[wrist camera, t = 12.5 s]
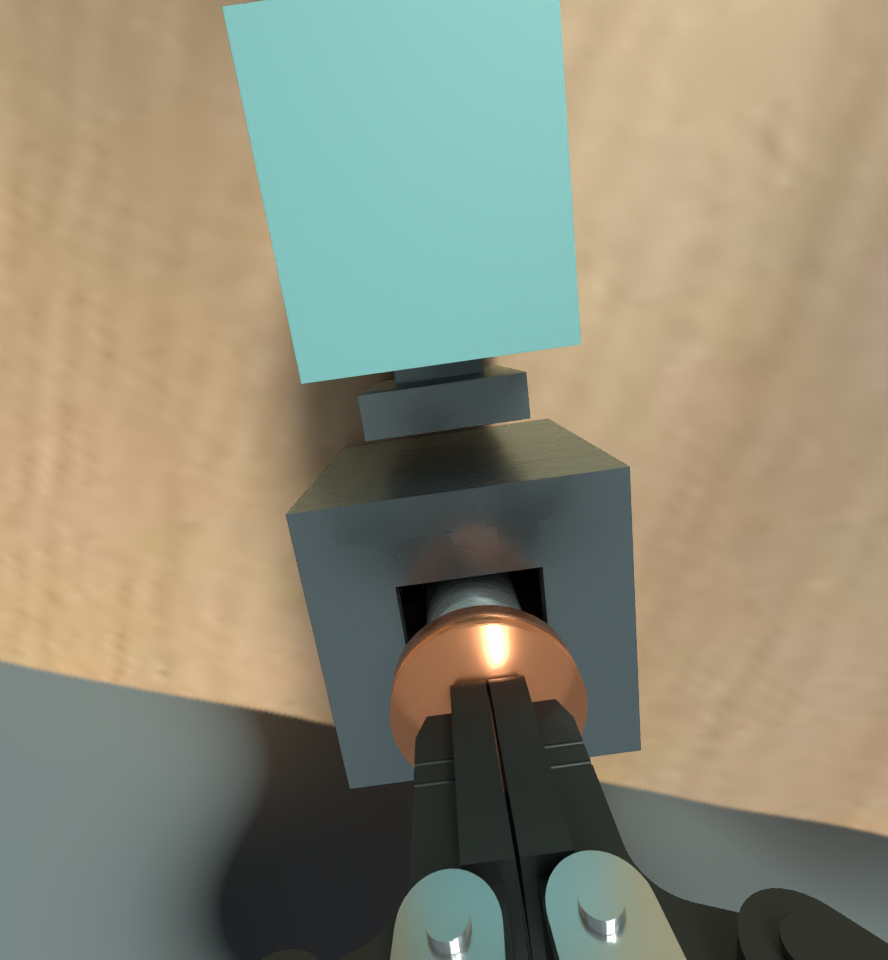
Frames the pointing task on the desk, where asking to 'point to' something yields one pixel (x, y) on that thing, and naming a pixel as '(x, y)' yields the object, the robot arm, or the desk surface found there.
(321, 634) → the grey cube with hole
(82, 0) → the desk surface
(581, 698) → the plunger
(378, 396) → the rail
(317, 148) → the carriage
